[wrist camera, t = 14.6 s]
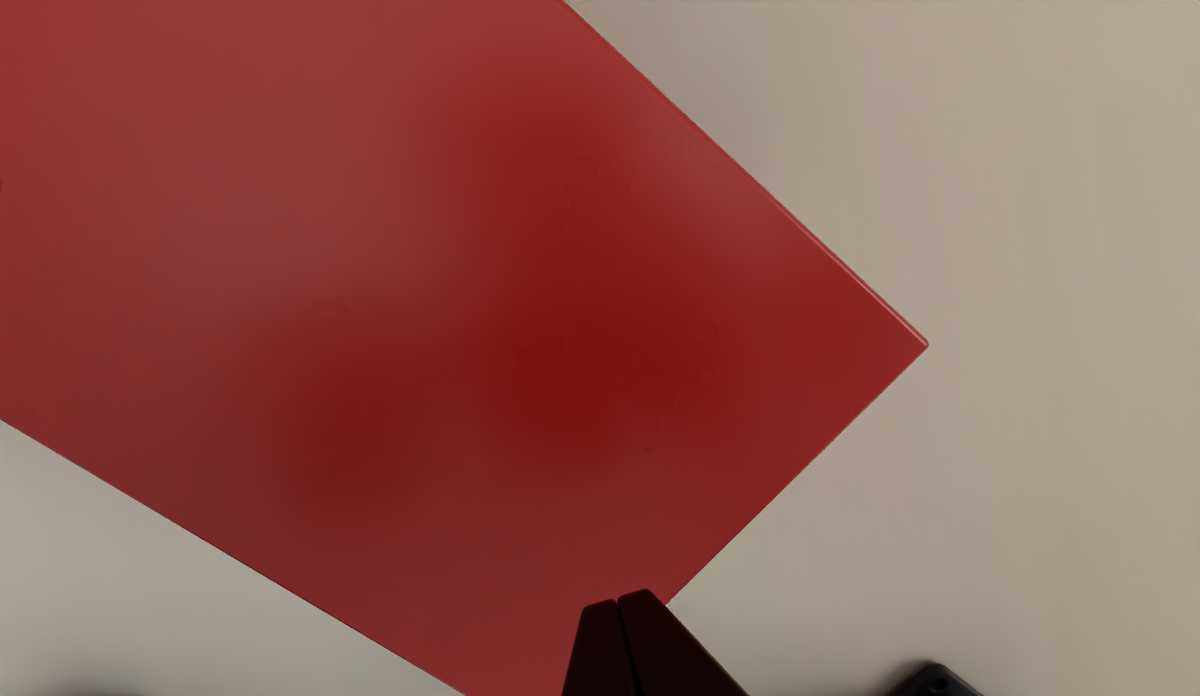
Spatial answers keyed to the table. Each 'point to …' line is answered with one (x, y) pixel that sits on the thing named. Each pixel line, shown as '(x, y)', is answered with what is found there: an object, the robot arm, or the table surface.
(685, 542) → the valve cabinet
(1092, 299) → the table surface
